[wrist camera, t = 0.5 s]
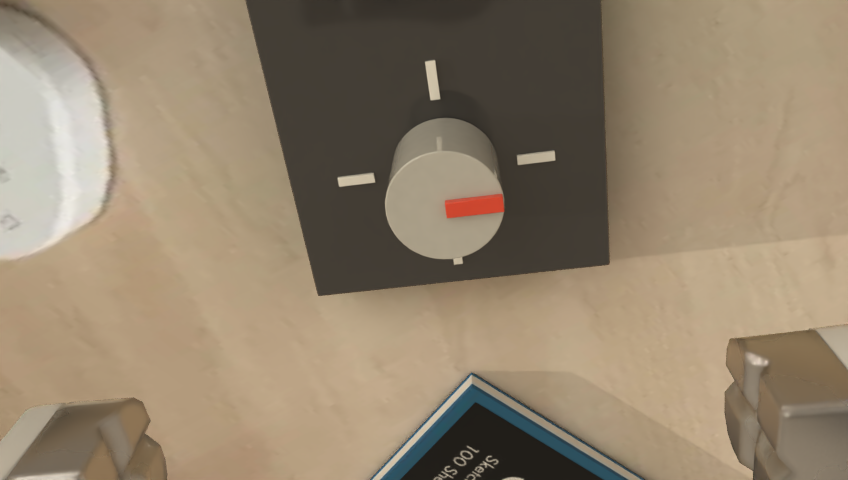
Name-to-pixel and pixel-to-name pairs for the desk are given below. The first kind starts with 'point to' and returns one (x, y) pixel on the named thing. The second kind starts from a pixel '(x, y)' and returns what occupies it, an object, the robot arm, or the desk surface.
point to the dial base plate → (430, 99)
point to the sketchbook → (495, 444)
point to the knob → (445, 189)
